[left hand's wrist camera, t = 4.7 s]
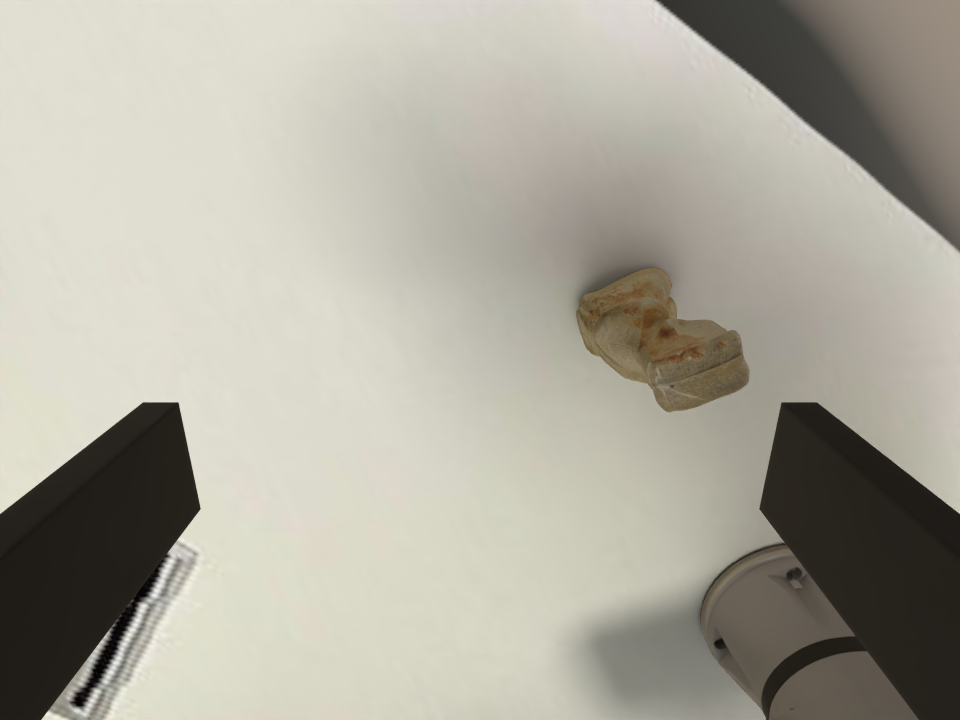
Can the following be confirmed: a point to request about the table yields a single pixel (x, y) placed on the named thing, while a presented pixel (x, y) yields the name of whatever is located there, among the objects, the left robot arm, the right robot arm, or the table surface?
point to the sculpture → (661, 342)
